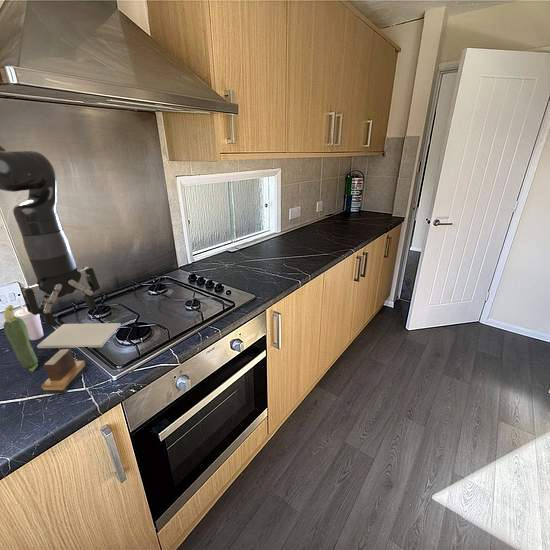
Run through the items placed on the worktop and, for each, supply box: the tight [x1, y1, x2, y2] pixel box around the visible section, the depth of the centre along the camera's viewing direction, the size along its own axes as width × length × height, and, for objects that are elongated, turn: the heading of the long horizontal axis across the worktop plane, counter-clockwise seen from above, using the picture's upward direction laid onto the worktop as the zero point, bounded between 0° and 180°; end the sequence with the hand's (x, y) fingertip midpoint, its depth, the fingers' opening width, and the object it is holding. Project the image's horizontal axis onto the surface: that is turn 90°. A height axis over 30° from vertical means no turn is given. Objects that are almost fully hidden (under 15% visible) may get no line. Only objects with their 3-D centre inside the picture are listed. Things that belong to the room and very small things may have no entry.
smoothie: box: [13, 298, 45, 341], centre depth 92 cm, size 6×6×14 cm
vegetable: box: [3, 304, 39, 372], centre depth 77 cm, size 4×4×20 cm
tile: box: [36, 322, 122, 349], centre depth 94 cm, size 20×12×1 cm, turn 89°
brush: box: [41, 348, 87, 395], centre depth 74 cm, size 9×5×8 cm, turn 179°
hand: (73, 316), depth 69 cm, fingers open, 8 cm apart
